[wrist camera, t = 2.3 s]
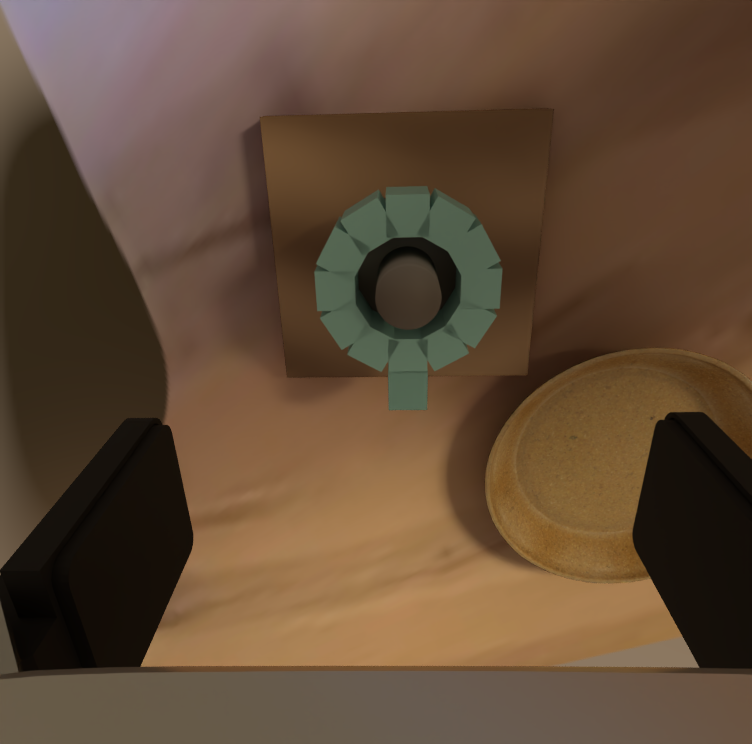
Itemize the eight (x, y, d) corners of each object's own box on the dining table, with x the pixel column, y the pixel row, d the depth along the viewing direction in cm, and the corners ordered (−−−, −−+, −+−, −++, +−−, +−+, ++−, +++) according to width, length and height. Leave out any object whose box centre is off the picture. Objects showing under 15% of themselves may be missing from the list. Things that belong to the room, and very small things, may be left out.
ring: (315, 188, 22) (308, 196, 20) (498, 184, 22) (508, 192, 20) (329, 388, 26) (324, 410, 24) (485, 387, 25) (492, 409, 24)
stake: (265, 116, 24) (221, 122, 18) (546, 108, 24) (600, 112, 18) (291, 367, 30) (262, 440, 23) (522, 364, 29) (556, 438, 23)
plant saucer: (457, 537, 35) (461, 569, 32) (510, 311, 28) (521, 330, 26) (692, 564, 35) (714, 597, 33) (798, 346, 29) (834, 369, 26)
